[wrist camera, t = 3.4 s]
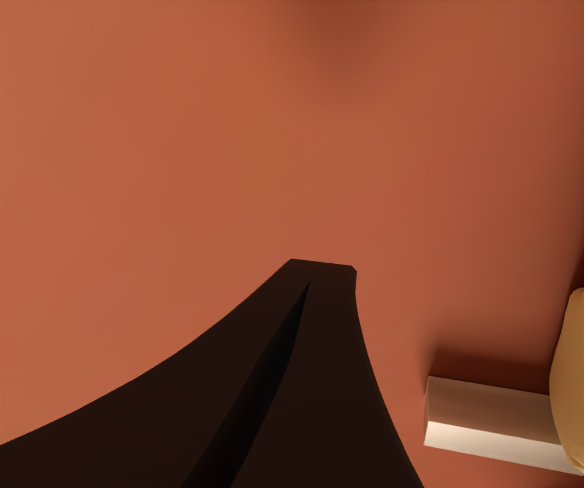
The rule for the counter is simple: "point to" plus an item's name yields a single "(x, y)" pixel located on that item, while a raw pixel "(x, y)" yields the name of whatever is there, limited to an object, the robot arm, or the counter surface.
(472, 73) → the counter surface
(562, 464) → the lane rails
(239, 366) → the robot arm
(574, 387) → the cheese
